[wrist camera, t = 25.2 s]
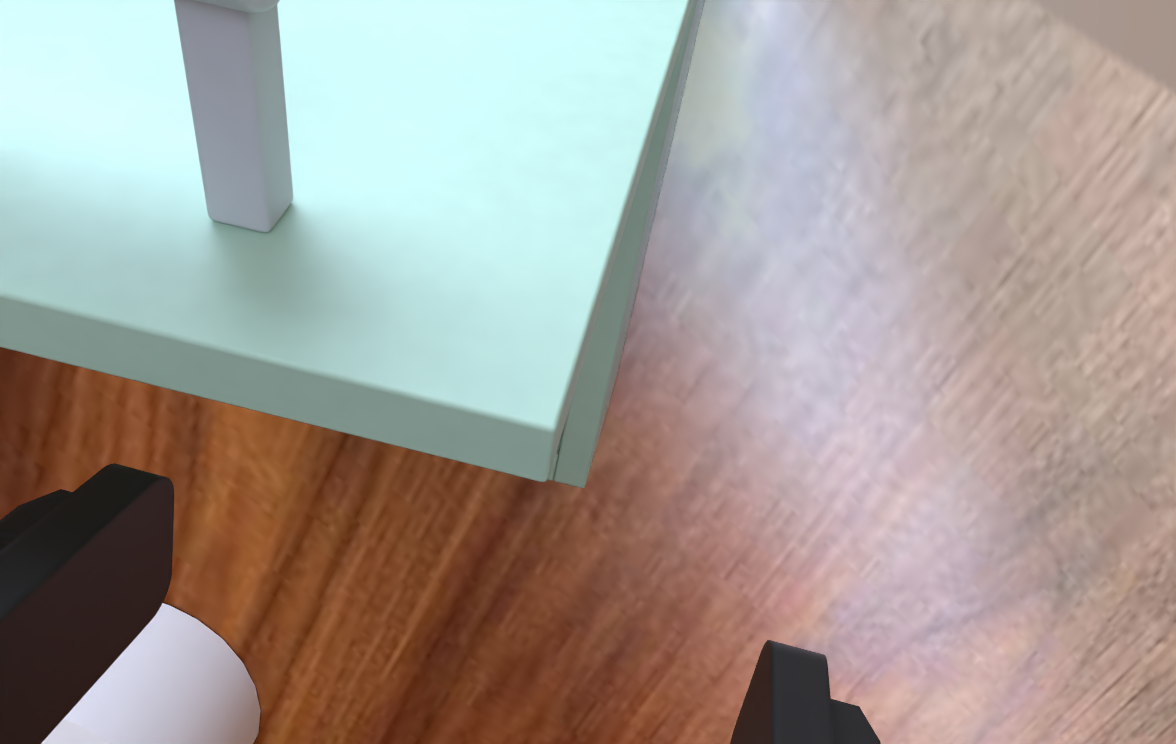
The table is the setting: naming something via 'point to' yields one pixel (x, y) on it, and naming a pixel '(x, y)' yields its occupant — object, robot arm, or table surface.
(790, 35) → the table surface
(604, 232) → the lid
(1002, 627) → the table surface
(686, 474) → the table surface
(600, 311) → the compartment
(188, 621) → the base with upright slab
